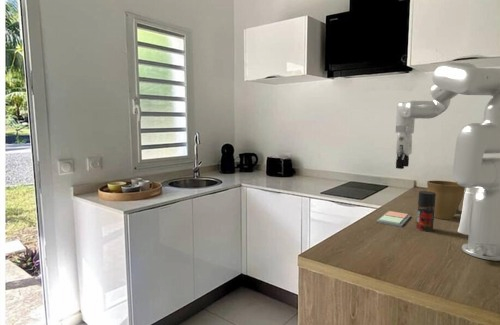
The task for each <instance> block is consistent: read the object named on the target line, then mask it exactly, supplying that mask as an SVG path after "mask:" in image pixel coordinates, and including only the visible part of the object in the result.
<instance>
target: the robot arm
mask: <svg viewBox="0 0 500 325" xmlns="http://www.w3.org/2000/svg"><path fill="white" fill-rule="evenodd" d="M431 80H432V81H433V84H432V85H431V87H430V90H429V91H430V94H431V97H432V100H409V101H402V102H398V103H397V106H396V116H395V117H396V118H395V119H396V120H395V133H396V134H397V137H396V146H395V147H396V148H395V149H396V150H395V153H396V158H395V159H396V161H395V169H398V170H399V169H400V170H403V169H404V168H405V167H409V164H410V163H409V162H410V161H409V160H410V156H411V155H412V153H413V152H412V150H413V145H412V144H413V134H414V132H415V120H416V119H417V120H418V119H423V120H424V119H428V120H429V119H434V118H436V117H438V116H440V115H441V114H443V113H444V112H445V111H446V110H448V108H449V106H450V103H451V100H452V99H453V98H455V97H456V96H458V95H464V96H491V97H492V98H491V99H490V100H489V101H488V103H487V104H486V105H485V108H484V112H483V117H482V119H483V120H482V121H481V122H473V123H469V124H467V125H465V126H464V127H462V128H461V129H460V131H459V133H458V134H457V137H456V142H455V151H454V156H453V157H454V158H453V166H452V168H453V170H452V173H453V174H452V175H453V179H454V182H456V183H457V184H458V185H460V186H462V187H465V189H466V188H475V193H474V195H473V198H472V205H471V214H470V225H469V235H467V236H468V238H467V239H468V240H467V243H463V244H462V245H461V250H462V251H463V252H464V253H465V254H467V255H469V256H472V257H474V258H478V259H483V260H488V261H495V262H498V261H499V262H500V157H493V156H492V157H488V156H487V157H484V154H486V155H487V154H488V155H490V154H492V155H493V154H500V68H498V67H497V68H495V67H477V66H476V65H474V64H472V63H468V62H457V61H454V62H451V61H449V62H448V61H447V62H443V63H441V64H439V65H438V66H437V67H436V68H435V69H434V71H433V73H432V78H431Z"/></svg>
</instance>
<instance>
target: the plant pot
mask: <svg viewBox="0 0 500 325" xmlns="http://www.w3.org/2000/svg"><path fill="white" fill-rule="evenodd" d="M426 183H427V184H426V187H427V191H429V192H434V193H436V197H435V209H434V218H436V219H441V220H447V221H449V220H450V221H451V220H453V219H454V217H455V216H456V214H457V213H456V211H457V209H458V207H459V208H460V204H461V203H462V201H463V200H462V199H463V198H464V194H465V191H466V188H465V187H462V186H460V185H458V184H457V183H456V181H449V180H428V181H426Z"/></svg>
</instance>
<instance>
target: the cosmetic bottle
mask: <svg viewBox="0 0 500 325" xmlns="http://www.w3.org/2000/svg"><path fill="white" fill-rule="evenodd" d="M475 191H476V188H465V191H464V193H463V200H462V201H463V202H462V209H461V216H460V221H459V226H458V228H457V233H459V234H460V235H466V236H469V225H470V214H471V205H472V198H473V195H474V193H475Z"/></svg>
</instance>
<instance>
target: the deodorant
mask: <svg viewBox="0 0 500 325" xmlns="http://www.w3.org/2000/svg"><path fill="white" fill-rule="evenodd" d="M435 197H436V193H434V192H429V191H428V190H420V191H418V198H417V199H418V200H417V213H416V225H415V227H416V228H415V229H417V230H418V231H421V232H433V231H434V222H435V221H434V220H435V217H434V209H435Z"/></svg>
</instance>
